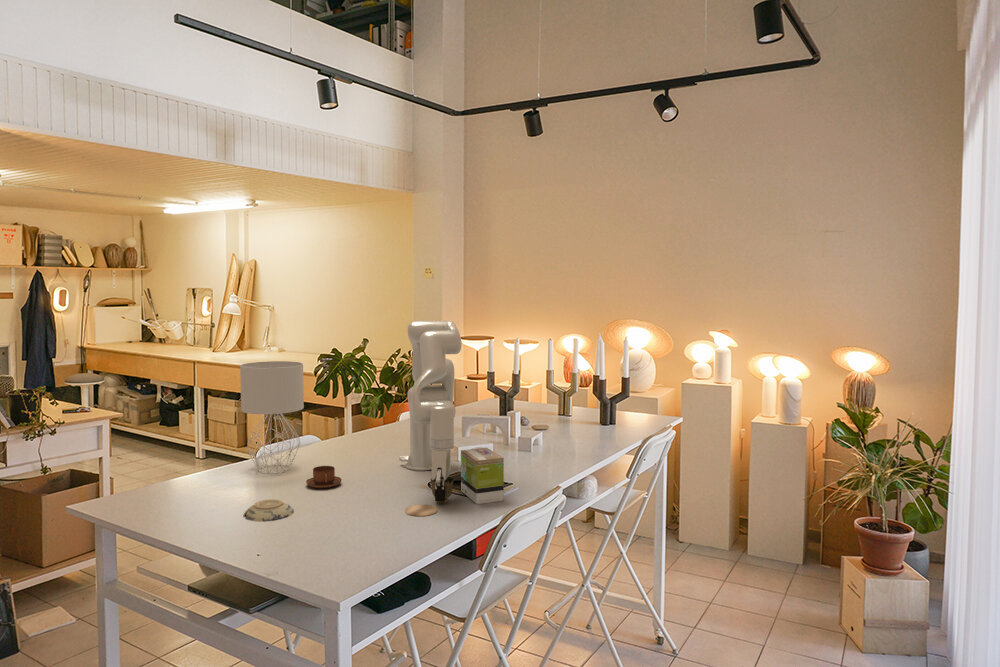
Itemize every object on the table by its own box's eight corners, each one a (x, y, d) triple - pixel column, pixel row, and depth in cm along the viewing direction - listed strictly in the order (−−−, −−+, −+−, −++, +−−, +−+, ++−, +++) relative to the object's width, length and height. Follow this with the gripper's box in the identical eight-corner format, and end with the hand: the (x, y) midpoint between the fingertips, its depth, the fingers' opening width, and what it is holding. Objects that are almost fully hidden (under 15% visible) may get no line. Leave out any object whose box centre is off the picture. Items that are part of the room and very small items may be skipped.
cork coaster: (401, 515, 214) (401, 514, 214) (408, 505, 224) (408, 503, 224) (434, 516, 213) (434, 515, 213) (440, 506, 223) (440, 505, 223)
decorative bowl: (304, 514, 217) (276, 503, 226) (304, 502, 216) (276, 492, 226) (260, 527, 205) (233, 515, 215) (260, 515, 205) (233, 503, 214)
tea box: (459, 492, 239) (459, 449, 238) (487, 488, 243) (487, 446, 242) (475, 504, 225) (476, 459, 224) (504, 501, 229) (504, 456, 228)
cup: (442, 497, 232) (442, 473, 232) (458, 502, 228) (458, 478, 227) (425, 503, 227) (425, 478, 226) (442, 507, 222) (442, 482, 221)
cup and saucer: (347, 486, 245) (347, 469, 245) (316, 493, 237) (315, 475, 237) (331, 479, 254) (331, 462, 254) (300, 485, 246) (300, 467, 246)
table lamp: (237, 479, 253) (235, 368, 250) (247, 463, 275) (245, 361, 272) (302, 476, 257) (300, 367, 254) (306, 460, 279) (305, 360, 276)
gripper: (435, 437, 235) (435, 489, 236) (425, 449, 217) (425, 505, 219) (457, 437, 234) (457, 490, 235) (449, 449, 217) (449, 506, 218)
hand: (442, 497), depth 227 cm, fingers closed on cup, 7 cm apart
